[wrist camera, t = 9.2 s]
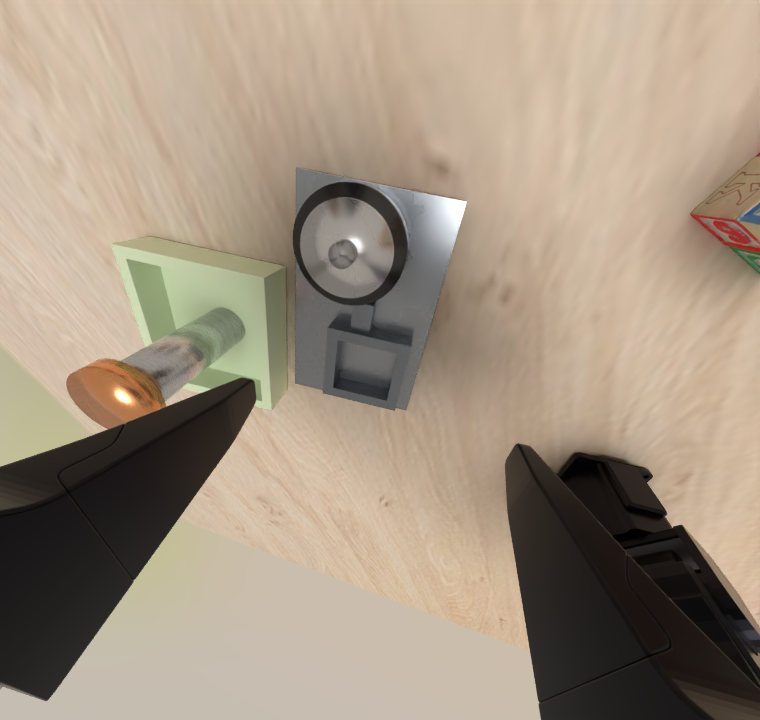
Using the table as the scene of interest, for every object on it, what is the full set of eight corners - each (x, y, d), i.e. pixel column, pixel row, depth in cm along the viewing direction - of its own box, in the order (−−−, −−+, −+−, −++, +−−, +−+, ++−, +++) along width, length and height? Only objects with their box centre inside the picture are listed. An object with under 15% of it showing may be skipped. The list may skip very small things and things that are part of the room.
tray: (287, 388, 27) (271, 410, 25) (182, 363, 28) (156, 381, 25) (285, 266, 21) (263, 277, 18) (150, 236, 21) (110, 243, 19)
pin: (254, 354, 25) (157, 443, 16) (206, 342, 25) (86, 424, 16) (249, 306, 22) (134, 382, 14) (197, 294, 23) (51, 362, 14)
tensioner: (407, 402, 26) (401, 439, 22) (299, 376, 26) (277, 408, 22) (465, 200, 17) (473, 205, 13) (302, 168, 17) (266, 164, 14)
